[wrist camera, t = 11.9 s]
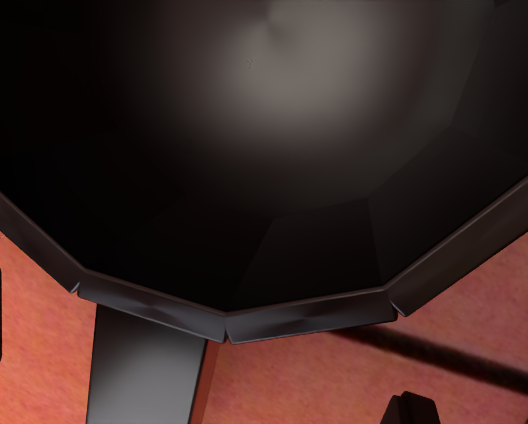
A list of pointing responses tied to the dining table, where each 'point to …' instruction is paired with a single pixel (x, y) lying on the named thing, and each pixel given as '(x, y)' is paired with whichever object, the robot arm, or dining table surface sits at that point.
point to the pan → (255, 170)
